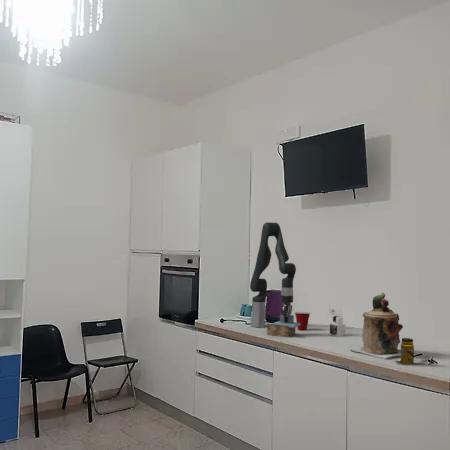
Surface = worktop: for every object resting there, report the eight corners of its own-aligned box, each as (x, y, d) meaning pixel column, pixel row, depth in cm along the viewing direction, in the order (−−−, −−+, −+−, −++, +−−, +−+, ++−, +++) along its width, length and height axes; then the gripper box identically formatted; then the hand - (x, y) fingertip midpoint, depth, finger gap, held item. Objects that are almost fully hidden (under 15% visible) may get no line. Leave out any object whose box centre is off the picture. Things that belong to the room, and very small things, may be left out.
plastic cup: (309, 328, 341) (309, 311, 342) (310, 331, 330) (311, 313, 331) (293, 328, 342) (294, 310, 343) (294, 330, 331) (294, 312, 332)
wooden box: (267, 334, 313) (267, 324, 313) (274, 332, 325) (275, 321, 325) (288, 337, 307) (288, 326, 307) (295, 334, 318) (295, 323, 318)
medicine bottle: (329, 334, 320) (329, 315, 320) (338, 334, 323) (338, 315, 323) (336, 336, 313) (337, 317, 314) (345, 335, 317) (345, 316, 317)
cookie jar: (347, 351, 269) (348, 291, 270) (375, 346, 284) (376, 290, 285) (387, 360, 249) (388, 295, 250) (415, 354, 264) (415, 294, 265)
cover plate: (272, 325, 312) (273, 315, 313) (279, 323, 322) (279, 313, 323) (294, 327, 306) (294, 316, 306) (300, 325, 316) (300, 314, 316)
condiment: (416, 365, 238) (416, 340, 239) (397, 364, 239) (397, 339, 240) (412, 362, 245) (412, 337, 246) (394, 361, 247) (395, 336, 247)
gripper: (285, 293, 323) (285, 320, 322) (277, 295, 311) (277, 322, 310) (296, 294, 319) (296, 321, 319) (288, 295, 307) (288, 324, 306)
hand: (286, 321), depth 314 cm, fingers closed on cover plate, 3 cm apart
